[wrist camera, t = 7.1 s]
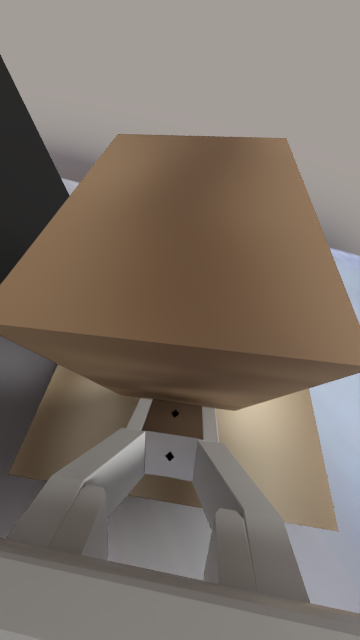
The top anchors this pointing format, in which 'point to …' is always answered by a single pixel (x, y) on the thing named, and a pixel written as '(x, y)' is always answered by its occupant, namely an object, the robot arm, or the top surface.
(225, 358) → the walnut block
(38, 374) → the top surface
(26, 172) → the binders
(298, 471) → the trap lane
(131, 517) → the top surface
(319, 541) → the top surface
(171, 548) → the top surface
